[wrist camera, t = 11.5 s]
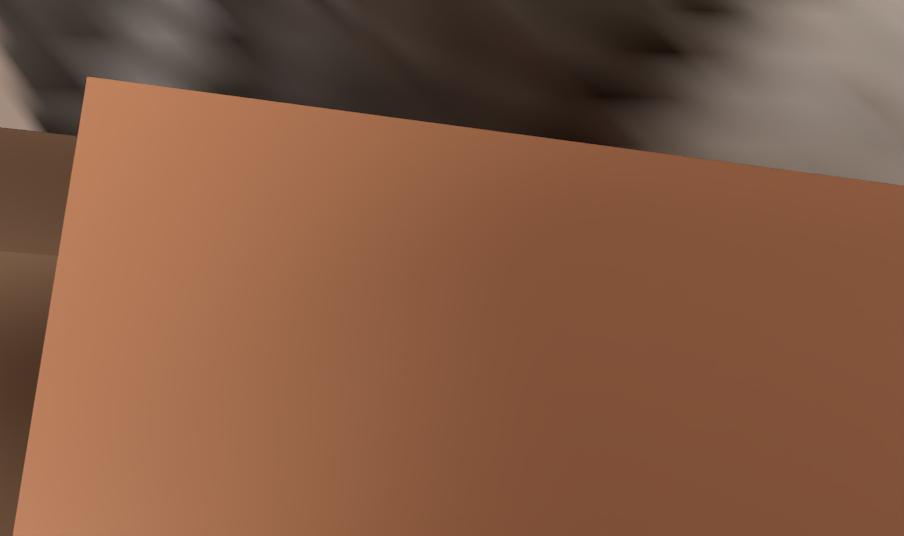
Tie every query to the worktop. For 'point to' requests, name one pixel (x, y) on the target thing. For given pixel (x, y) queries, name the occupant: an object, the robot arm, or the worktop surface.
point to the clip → (456, 334)
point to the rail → (26, 285)
